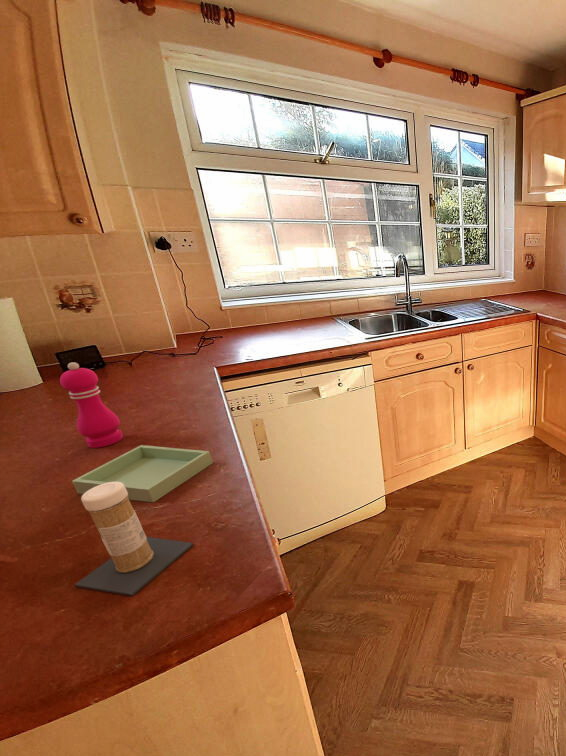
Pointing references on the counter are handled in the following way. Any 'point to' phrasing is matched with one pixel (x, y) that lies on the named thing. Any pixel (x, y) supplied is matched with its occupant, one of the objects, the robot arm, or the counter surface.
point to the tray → (147, 471)
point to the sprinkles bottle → (118, 525)
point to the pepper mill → (91, 407)
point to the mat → (135, 580)
